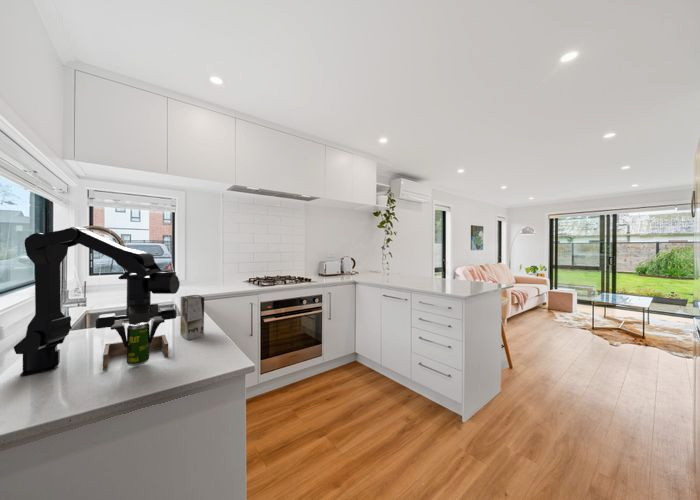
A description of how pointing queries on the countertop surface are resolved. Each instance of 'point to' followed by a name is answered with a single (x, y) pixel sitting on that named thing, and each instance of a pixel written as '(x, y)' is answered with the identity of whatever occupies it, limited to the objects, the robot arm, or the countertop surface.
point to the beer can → (138, 343)
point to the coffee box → (192, 316)
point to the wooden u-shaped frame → (120, 349)
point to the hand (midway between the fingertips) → (138, 345)
